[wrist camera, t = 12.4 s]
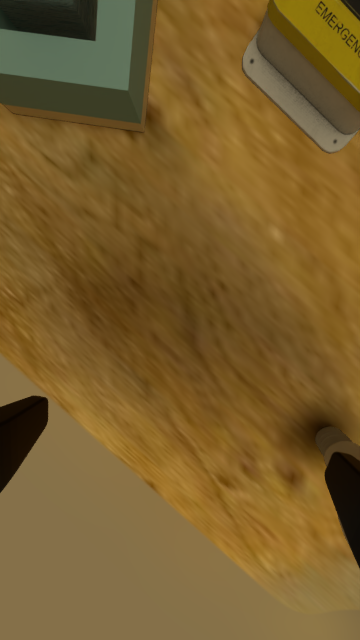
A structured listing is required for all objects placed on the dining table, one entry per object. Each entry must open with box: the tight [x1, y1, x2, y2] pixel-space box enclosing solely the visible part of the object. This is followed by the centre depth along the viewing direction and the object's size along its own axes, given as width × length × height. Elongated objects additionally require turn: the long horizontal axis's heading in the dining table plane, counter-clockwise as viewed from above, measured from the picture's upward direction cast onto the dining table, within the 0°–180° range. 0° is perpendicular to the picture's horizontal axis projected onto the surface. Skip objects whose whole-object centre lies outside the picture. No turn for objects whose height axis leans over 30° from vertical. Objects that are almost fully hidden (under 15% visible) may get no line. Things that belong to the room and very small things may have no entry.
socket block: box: [0, 0, 157, 132], centre depth 13 cm, size 10×10×4 cm
